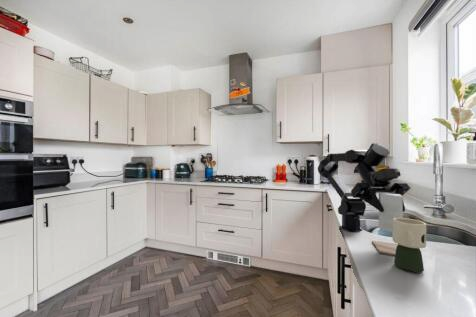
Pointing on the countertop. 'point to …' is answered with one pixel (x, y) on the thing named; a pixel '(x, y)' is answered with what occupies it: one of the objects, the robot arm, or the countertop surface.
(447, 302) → the countertop surface
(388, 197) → the skincare box
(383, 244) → the curved brown sheet
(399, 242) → the character mug
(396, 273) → the countertop surface
